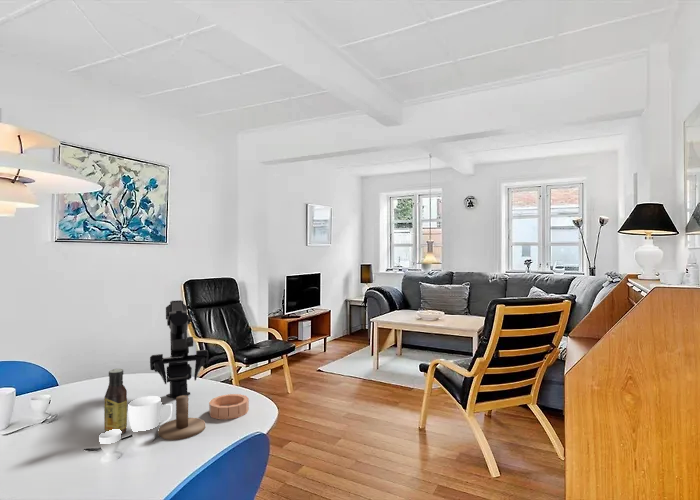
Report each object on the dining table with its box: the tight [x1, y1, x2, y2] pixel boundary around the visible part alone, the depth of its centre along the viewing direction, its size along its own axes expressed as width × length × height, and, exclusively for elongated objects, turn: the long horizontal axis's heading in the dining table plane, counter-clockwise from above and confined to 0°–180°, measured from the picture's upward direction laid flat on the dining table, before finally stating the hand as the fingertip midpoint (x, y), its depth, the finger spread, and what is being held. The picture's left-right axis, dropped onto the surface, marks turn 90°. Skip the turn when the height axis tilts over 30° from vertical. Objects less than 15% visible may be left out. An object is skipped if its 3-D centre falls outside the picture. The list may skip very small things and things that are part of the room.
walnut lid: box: [157, 395, 206, 441], centre depth 136 cm, size 14×14×10 cm
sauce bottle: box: [103, 368, 128, 435], centre depth 134 cm, size 7×6×20 cm
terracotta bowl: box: [208, 393, 250, 420], centre depth 150 cm, size 13×13×4 cm
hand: (180, 381), depth 143 cm, fingers open, 9 cm apart
